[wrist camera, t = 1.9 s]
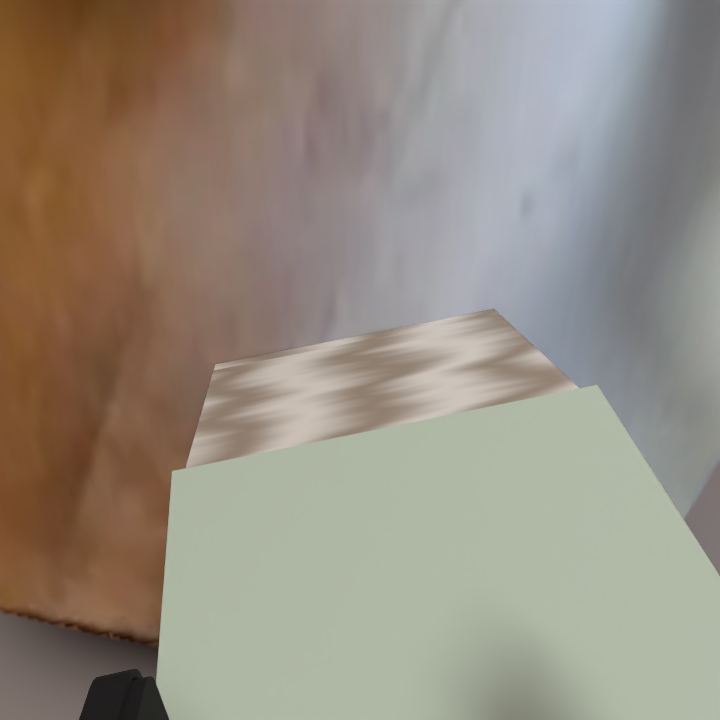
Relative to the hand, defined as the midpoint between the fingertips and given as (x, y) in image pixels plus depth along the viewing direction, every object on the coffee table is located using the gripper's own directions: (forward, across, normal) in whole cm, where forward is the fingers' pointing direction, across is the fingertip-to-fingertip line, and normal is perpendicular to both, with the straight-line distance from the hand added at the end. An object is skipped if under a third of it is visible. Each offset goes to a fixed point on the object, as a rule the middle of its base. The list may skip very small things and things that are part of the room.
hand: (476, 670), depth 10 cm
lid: (+8, 0, +8) cm, 11 cm away
